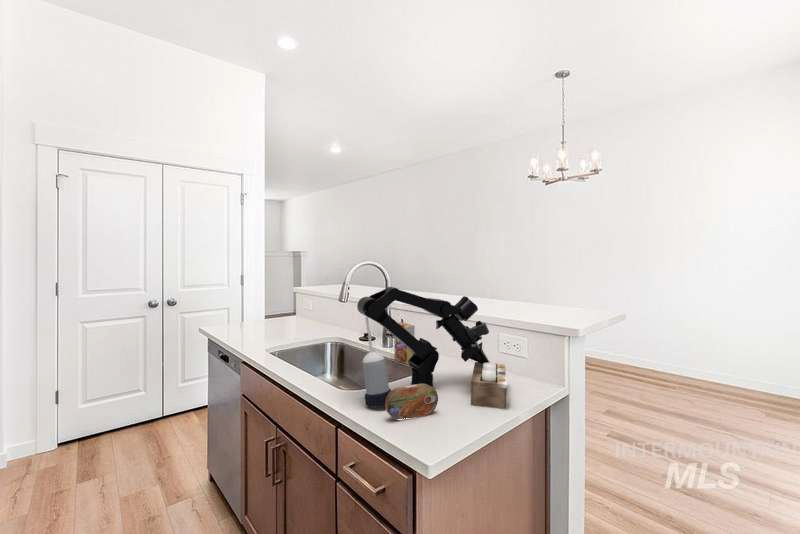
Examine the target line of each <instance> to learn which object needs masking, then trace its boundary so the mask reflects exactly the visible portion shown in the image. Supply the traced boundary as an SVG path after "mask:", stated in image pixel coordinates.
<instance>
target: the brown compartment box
mask: <svg viewBox="0 0 800 534" xmlns="http://www.w3.org/2000/svg"><path fill="white" fill-rule="evenodd" d="M495 364H496V383H495V382H484V381H482V370H483V364H481V363H479V362H477V361H475V362H474V365H473V371H472V375H471V381H470V406H475V407H476V406H477V407H485V408H493V409H495V408H496V409H504V410H506V409H507V388H508V385H507V383H508V382H507V370H506V369H507V368H506V364H505V363H495Z"/></svg>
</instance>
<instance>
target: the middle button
mask: <svg viewBox="0 0 800 534" xmlns="http://www.w3.org/2000/svg"><path fill="white" fill-rule="evenodd" d="M496 364H497V363H494V362H490V363H483V369H493V370H495V371H496Z"/></svg>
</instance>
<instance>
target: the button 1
mask: <svg viewBox="0 0 800 534" xmlns="http://www.w3.org/2000/svg"><path fill="white" fill-rule="evenodd" d="M482 381H484V382H495V383H496V371H495V370H493V369H483V370H482Z"/></svg>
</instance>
